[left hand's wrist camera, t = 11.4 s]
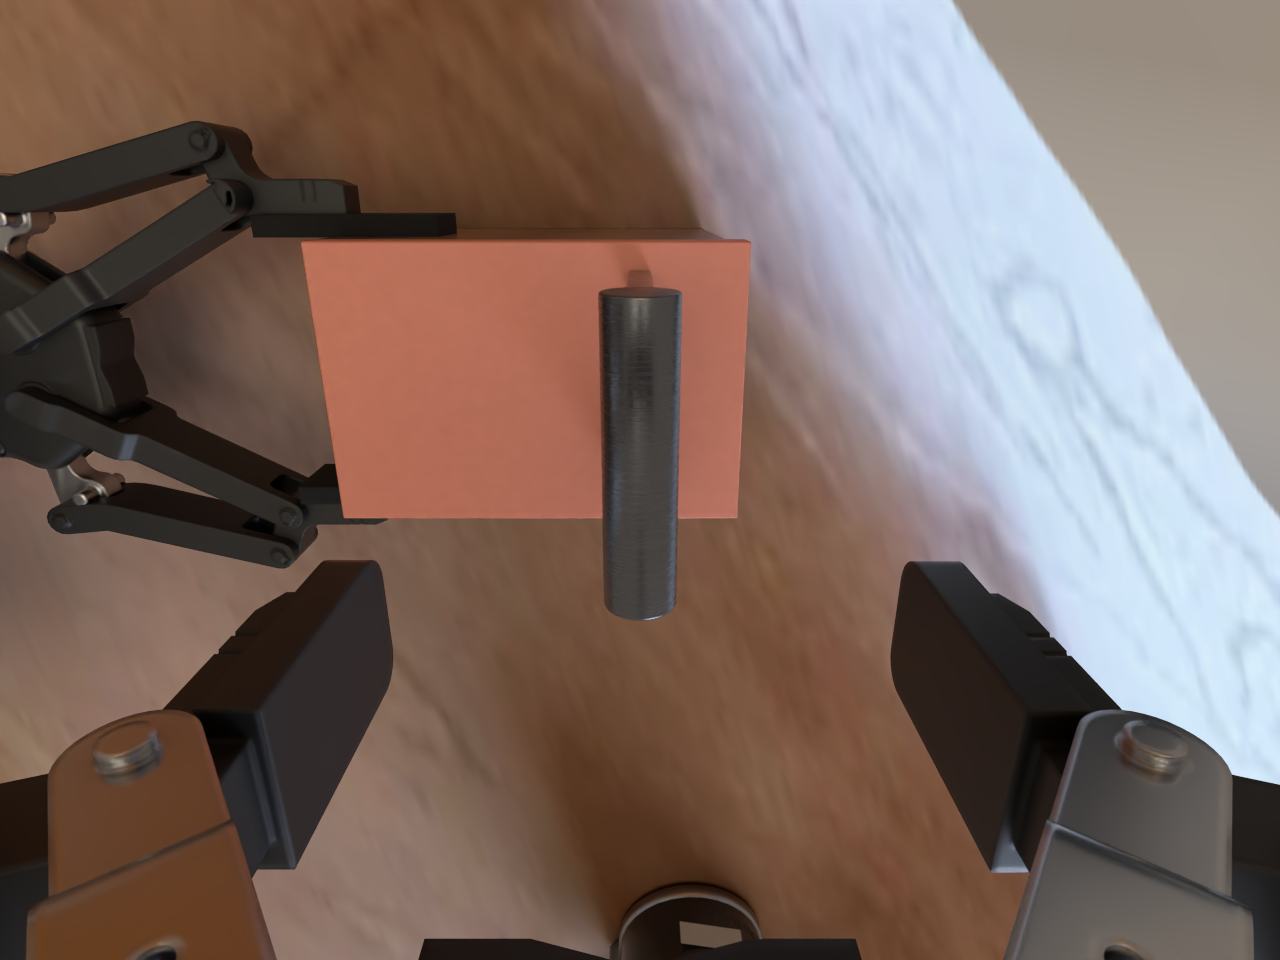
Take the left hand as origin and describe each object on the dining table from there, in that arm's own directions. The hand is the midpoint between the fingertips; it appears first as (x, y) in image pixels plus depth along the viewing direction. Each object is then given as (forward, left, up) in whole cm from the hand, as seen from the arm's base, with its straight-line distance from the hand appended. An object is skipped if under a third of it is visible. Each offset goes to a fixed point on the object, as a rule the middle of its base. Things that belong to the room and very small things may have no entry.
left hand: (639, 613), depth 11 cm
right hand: (-5, +5, -19) cm, 20 cm away
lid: (-2, +3, -15) cm, 16 cm away
